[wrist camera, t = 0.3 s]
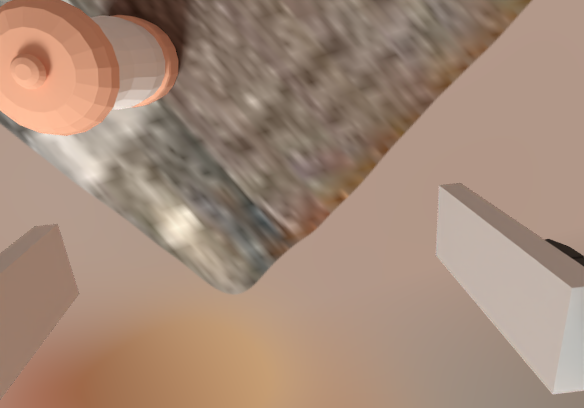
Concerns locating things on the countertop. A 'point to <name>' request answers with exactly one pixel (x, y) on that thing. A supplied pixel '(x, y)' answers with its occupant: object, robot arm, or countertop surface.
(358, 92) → the countertop surface
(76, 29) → the pepper shaker
